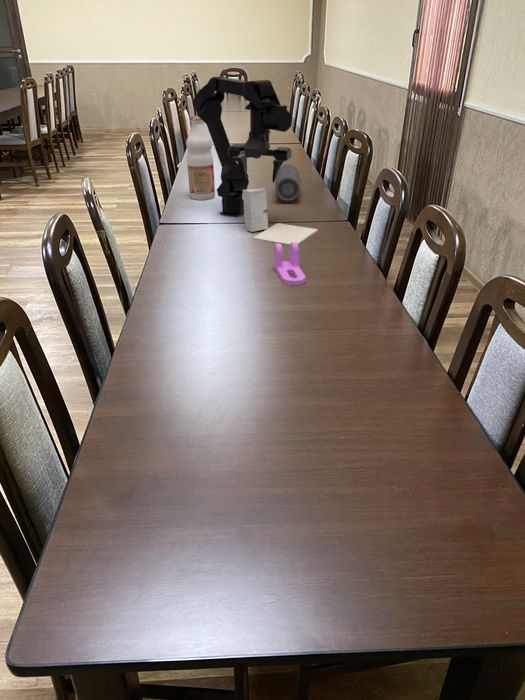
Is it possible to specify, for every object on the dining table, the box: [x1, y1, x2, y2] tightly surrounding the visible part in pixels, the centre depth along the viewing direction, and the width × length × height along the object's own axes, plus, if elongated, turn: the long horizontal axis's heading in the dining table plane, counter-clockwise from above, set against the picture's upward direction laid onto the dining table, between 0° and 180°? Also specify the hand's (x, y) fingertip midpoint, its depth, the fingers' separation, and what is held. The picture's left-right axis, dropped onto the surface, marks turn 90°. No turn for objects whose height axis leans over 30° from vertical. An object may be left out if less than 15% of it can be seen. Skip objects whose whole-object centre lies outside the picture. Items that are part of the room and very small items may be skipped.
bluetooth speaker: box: [275, 163, 302, 202], centre depth 199 cm, size 23×9×10 cm, turn 178°
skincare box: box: [242, 187, 269, 233], centre depth 164 cm, size 6×4×12 cm
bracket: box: [273, 242, 306, 286], centre depth 133 cm, size 13×6×7 cm, turn 11°
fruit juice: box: [185, 115, 216, 201], centre depth 193 cm, size 9×9×28 cm
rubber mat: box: [252, 223, 319, 246], centre depth 162 cm, size 14×16×1 cm
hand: (259, 180), depth 167 cm, fingers open, 9 cm apart
